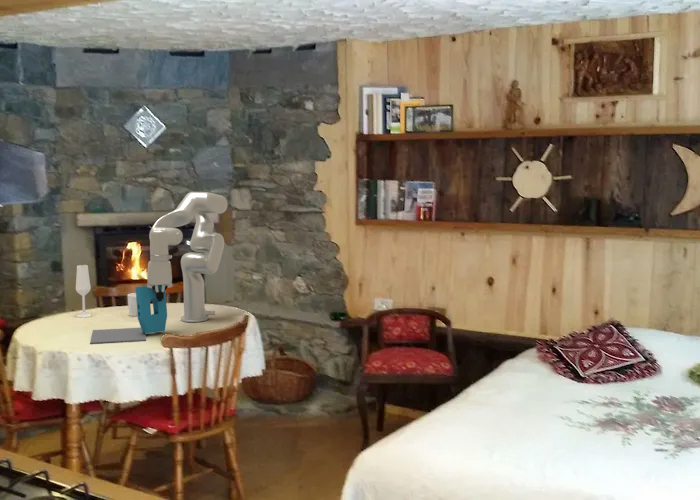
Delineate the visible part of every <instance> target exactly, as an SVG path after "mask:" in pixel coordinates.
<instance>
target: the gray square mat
mask: <svg viewBox="0 0 700 500" xmlns="http://www.w3.org/2000/svg"><path fill="white" fill-rule="evenodd" d="M146 334H147V333H143V332H142V329H141V327H126V328H123V327H122V328H110V329H109V328H108V329H107V328H104V329H103V328H102V329H92V331H91V336H90V337H91V338H90V341H89V344H90V345H98V344H99V345H100V344H115V343H116V344H117V343H133V342H134V343H135V342H147V339H146V338H147V337H146V336H147V335H146Z"/></svg>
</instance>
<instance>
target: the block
mask: <svg viewBox="0 0 700 500" xmlns="http://www.w3.org/2000/svg"><path fill="white" fill-rule="evenodd" d="M154 286H155V285H154ZM134 287H135V293H136V301H137V314H138V316H137V320H138V323H139V326H140V328H141V329H142V332H143V333H146V334H151V333H161V332H165V331H166V325H167V320H168V309H167V307H168V306H167V293H166V290H165V291H164V299H162V301H160V302H158V299H156V291H155V290H154V289H152V288H147V285H141V286H134ZM161 287H162V285H158V290H159V292H160V290H161ZM151 301H152V308H153V313H152V310H151V309H152V308H151Z"/></svg>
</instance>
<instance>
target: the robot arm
mask: <svg viewBox="0 0 700 500" xmlns="http://www.w3.org/2000/svg"><path fill="white" fill-rule="evenodd" d="M227 209H228V201H227V198H226V197H225V196H224V195H221V194H216V193H213V192H207V191H191V192H188V193H187V194H186V195H185V196H184V197H183V199H182V200H181V201H180V203H179V204H178V206H177V207H176V208H175V210H173V211H171V212H169V213H167V214H165V215H163V216H161V217H160V218H159V219H157V220H156V222H155V223H154V224H153V225H152V227H151V229H150V230H149V235H148V236H149V256H150V257H149V258H150V260H149V261H148V263H147V270H146V271H147V274H146V277H147V281H146V282H147V283H146V286H147V288H152V289H154V290H155V291H156V299H158V302H160V301H162V299H164V291H165V292H166V290H167V289H169V288H172V287H173V274H172V273H173V272H172V270H173V269H172V264H171V261H170V259H173V256H172V255H170V254H169V246H177V245H179V244H180V243H181V242H183V238H184V235H183V232H182V230H180V229H179V228H178V227H182V226H185V225H186V226H187V225H188V224H190V223H192V220H193V219H194V217H195V225H194V229H193V232H192V235H191V238H190V243H189V246H190V249H191V250H192V251H193V252H192V251H191V252H190V251H189V252H186V253H184V254H183V255H182V256H181V259H180V267H181V272H182V280H183V283H182V285H183V315H182V316H181V317H180V321H182V322H184V323H201V322H206V321H208V319H209V316H216V312H215V310H207V309H206V308H205V305H206V303H205V301H206V299H205V280H204V277H203V275H204V274H205V275H214V274H215V273H216V272H217V271H218V269H219V266H220V262H221V259H222V256H223V252H224V250H225V249H224V248H225V238H224V236H223V235H222V233H220V232H213V231H214V227H215V226H214V225H215V224H214V221H213V219H212V218H211V216H210V215H209V214H218V215H219V214H220V215H221V214H223V213H225V212H226V211H227ZM202 274H203V275H202ZM154 285H155V286H154ZM158 285H162V287H161V290H160V292H159V290H158Z"/></svg>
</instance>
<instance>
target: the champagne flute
mask: <svg viewBox="0 0 700 500" xmlns="http://www.w3.org/2000/svg"><path fill="white" fill-rule="evenodd" d="M75 277H76V278H75V291H76V292H77V293H78V294H79V295H80V296H82V298H81V299H82V300H81V301H82V302H81V303H82V305H81V306H82V312H80V313H79V314H77V315H76V317H77V318H87V317H91V316H92V314H91V313H90V312H88V311H86V295H87V294H89V292H90V291H91V288H92V287H91V281H90V279H91V278H90V272H89V266H88V265H87V264H79V265H76V276H75Z"/></svg>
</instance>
